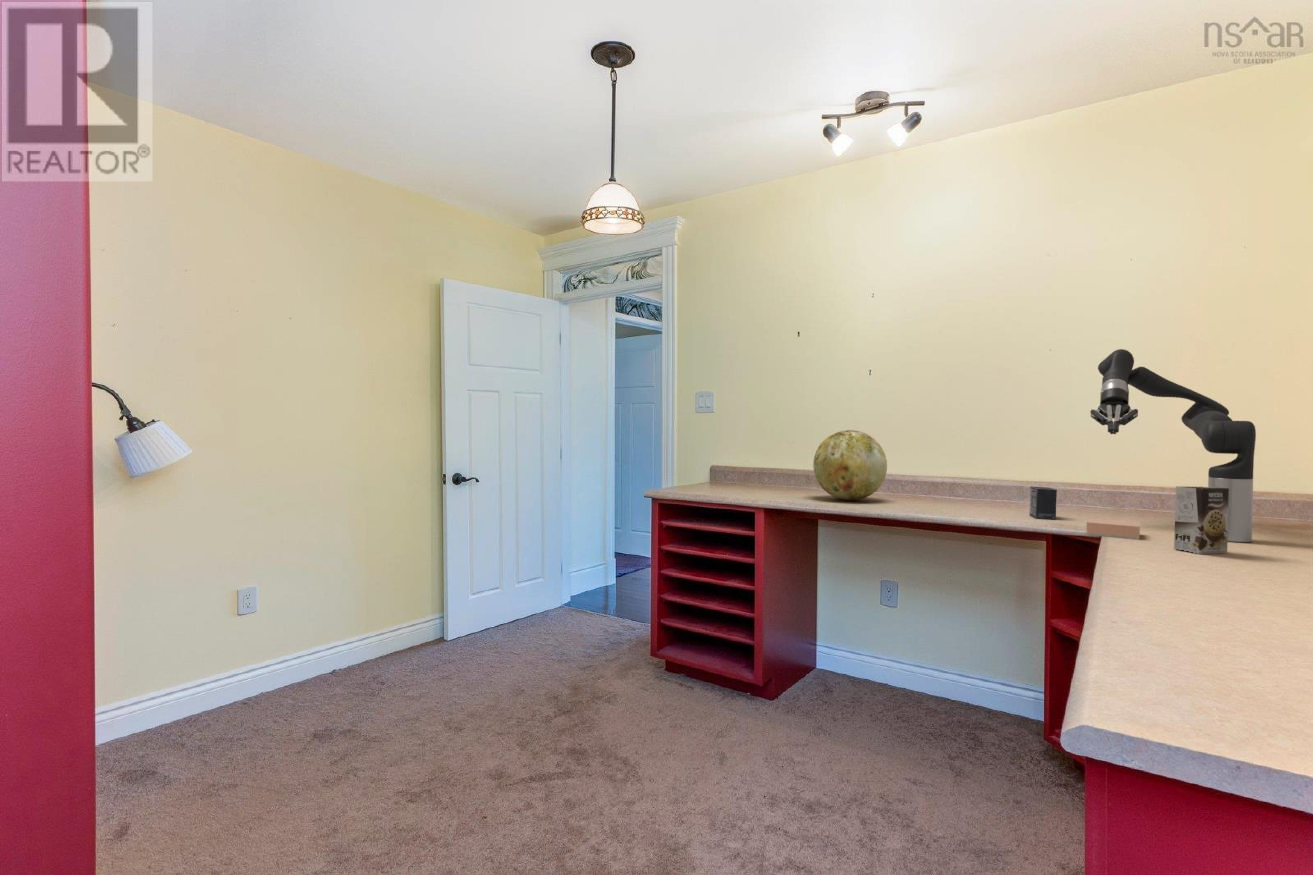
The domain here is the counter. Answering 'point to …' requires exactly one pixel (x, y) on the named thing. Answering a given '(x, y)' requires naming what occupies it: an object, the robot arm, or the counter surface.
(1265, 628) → the counter surface
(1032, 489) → the small box
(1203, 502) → the coffee box
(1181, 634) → the counter surface
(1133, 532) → the tile
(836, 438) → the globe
